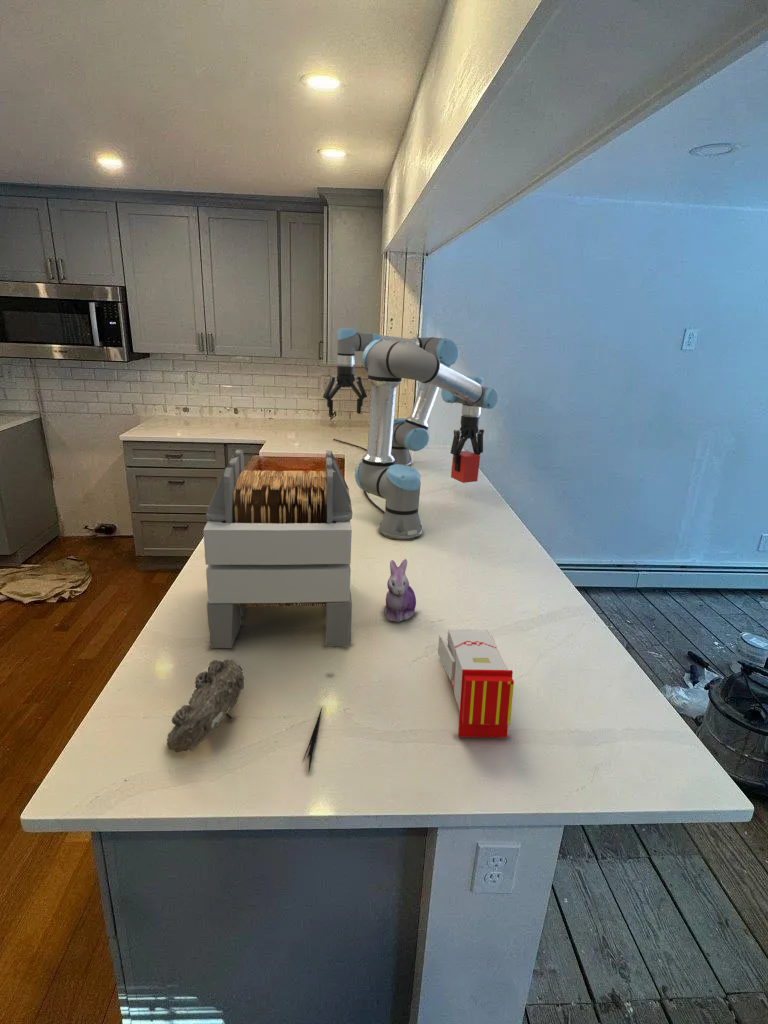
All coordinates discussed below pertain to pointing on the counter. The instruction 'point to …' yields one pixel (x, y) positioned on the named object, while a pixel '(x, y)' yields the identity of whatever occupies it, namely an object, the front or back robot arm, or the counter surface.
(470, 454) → the brick
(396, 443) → the back robot arm
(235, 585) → the record crate
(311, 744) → the feather
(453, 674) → the toy
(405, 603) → the figurine
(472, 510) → the counter surface
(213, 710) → the fossil
